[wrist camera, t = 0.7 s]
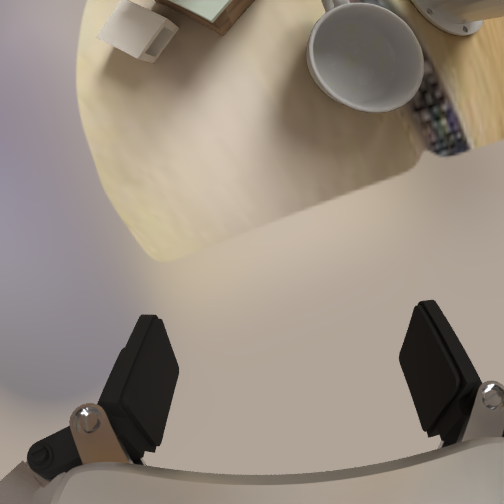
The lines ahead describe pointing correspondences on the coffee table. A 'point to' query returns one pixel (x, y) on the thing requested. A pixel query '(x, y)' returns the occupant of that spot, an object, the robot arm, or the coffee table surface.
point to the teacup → (364, 56)
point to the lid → (204, 7)
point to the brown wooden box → (223, 21)
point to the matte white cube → (137, 31)
